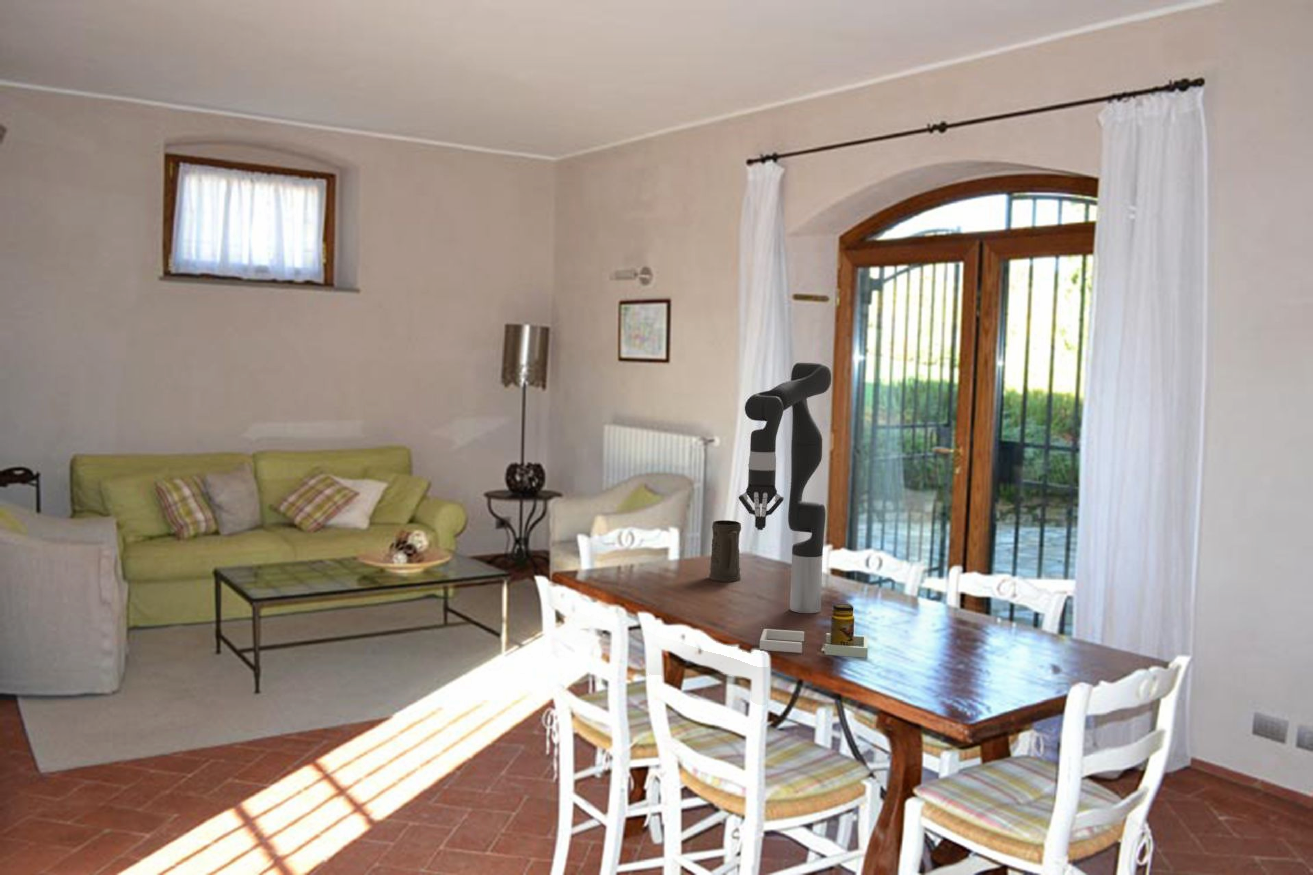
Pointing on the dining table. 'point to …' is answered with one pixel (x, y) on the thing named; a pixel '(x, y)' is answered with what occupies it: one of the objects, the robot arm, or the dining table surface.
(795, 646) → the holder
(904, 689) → the dining table surface
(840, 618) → the condiment
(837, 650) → the white shallow tray
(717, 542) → the beer stein
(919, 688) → the dining table surface
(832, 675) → the dining table surface
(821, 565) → the robot arm
